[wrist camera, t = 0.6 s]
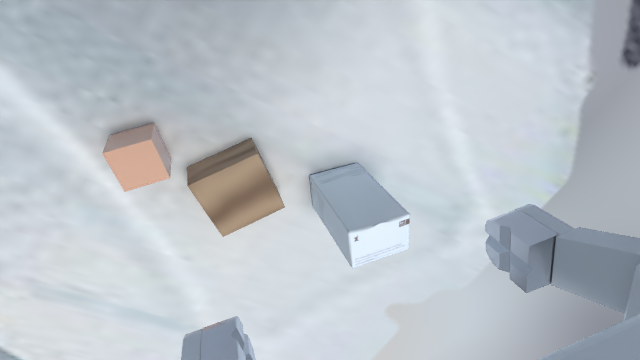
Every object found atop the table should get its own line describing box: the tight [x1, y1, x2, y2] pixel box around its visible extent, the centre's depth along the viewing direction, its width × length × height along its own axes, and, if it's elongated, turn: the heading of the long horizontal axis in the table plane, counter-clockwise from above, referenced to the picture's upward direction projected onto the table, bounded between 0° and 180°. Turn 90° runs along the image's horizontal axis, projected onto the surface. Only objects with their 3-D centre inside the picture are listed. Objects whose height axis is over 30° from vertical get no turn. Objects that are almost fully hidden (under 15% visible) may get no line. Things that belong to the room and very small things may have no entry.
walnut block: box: [187, 138, 285, 237], centre depth 47 cm, size 9×9×5 cm
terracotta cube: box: [102, 123, 171, 192], centre depth 41 cm, size 5×5×5 cm
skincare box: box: [310, 163, 410, 268], centre depth 49 cm, size 8×6×15 cm
